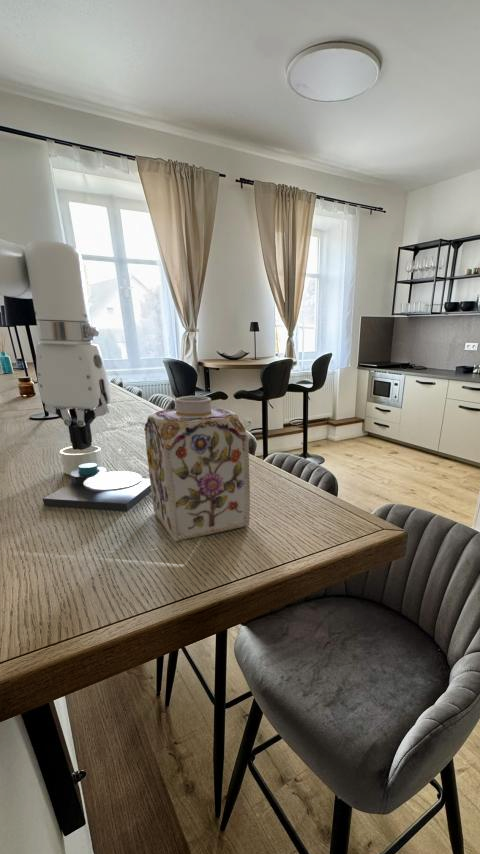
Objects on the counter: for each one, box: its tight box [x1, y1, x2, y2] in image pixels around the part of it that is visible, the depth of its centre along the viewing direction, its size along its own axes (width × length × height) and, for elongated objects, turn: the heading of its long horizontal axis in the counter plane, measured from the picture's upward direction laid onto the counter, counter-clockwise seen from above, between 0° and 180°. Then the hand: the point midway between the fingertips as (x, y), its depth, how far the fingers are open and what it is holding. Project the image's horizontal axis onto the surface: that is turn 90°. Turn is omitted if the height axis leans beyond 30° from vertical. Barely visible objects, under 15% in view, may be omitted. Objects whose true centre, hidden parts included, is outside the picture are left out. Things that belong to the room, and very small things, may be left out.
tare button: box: [78, 463, 98, 475], centre depth 73 cm, size 3×3×2 cm
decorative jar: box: [143, 395, 251, 543], centre depth 59 cm, size 12×12×18 cm
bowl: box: [59, 445, 104, 476], centre depth 82 cm, size 7×7×4 cm
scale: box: [42, 467, 151, 513], centre depth 70 cm, size 14×12×3 cm
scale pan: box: [83, 471, 143, 491], centre depth 68 cm, size 9×9×1 cm
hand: (82, 447), depth 71 cm, fingers closed
